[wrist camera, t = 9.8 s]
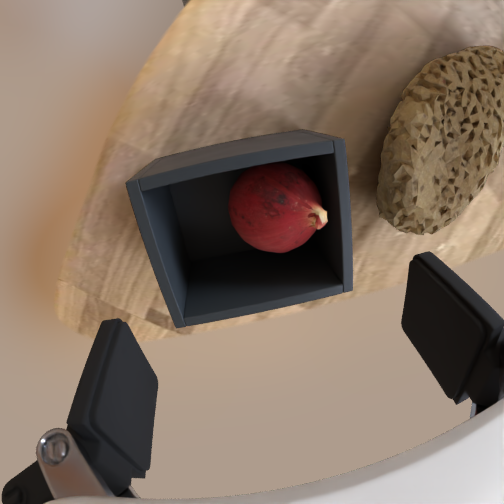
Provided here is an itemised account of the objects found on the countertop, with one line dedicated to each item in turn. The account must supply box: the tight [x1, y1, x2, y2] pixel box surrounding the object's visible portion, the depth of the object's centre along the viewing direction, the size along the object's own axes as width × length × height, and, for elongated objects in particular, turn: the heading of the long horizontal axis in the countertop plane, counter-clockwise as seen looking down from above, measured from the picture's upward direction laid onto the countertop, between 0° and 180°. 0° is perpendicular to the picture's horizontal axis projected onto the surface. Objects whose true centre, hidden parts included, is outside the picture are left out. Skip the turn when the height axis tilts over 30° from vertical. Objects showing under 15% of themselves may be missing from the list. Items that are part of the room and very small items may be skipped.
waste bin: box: [126, 129, 353, 328], centre depth 20 cm, size 11×9×8 cm
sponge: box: [376, 46, 504, 235], centre depth 19 cm, size 13×8×20 cm
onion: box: [228, 161, 328, 253], centre depth 19 cm, size 6×6×8 cm
